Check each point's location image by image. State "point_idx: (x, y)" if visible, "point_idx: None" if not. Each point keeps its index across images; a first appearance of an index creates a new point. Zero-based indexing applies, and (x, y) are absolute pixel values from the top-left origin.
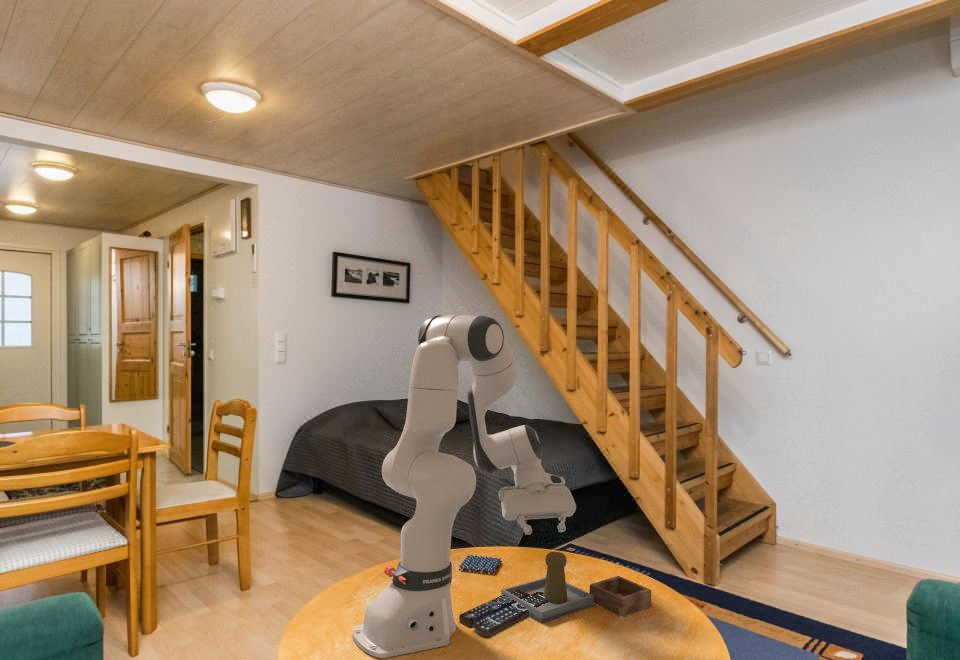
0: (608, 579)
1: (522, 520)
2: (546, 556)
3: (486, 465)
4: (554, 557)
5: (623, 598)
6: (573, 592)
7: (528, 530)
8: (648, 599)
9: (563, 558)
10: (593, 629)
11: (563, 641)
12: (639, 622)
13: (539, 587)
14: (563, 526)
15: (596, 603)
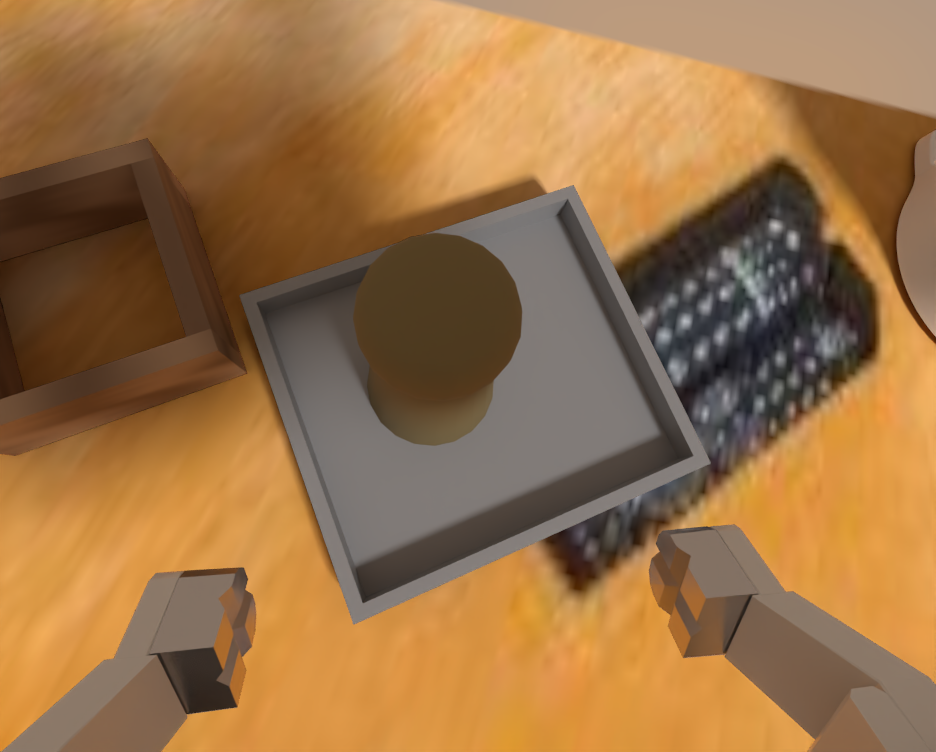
0: (50, 398)
1: (875, 661)
2: (519, 320)
3: None
4: (477, 245)
5: (131, 149)
6: (304, 428)
7: (719, 530)
8: None
9: (399, 244)
10: (367, 126)
11: (519, 77)
12: (137, 132)
13: (466, 535)
14: (171, 598)
15: (230, 327)
